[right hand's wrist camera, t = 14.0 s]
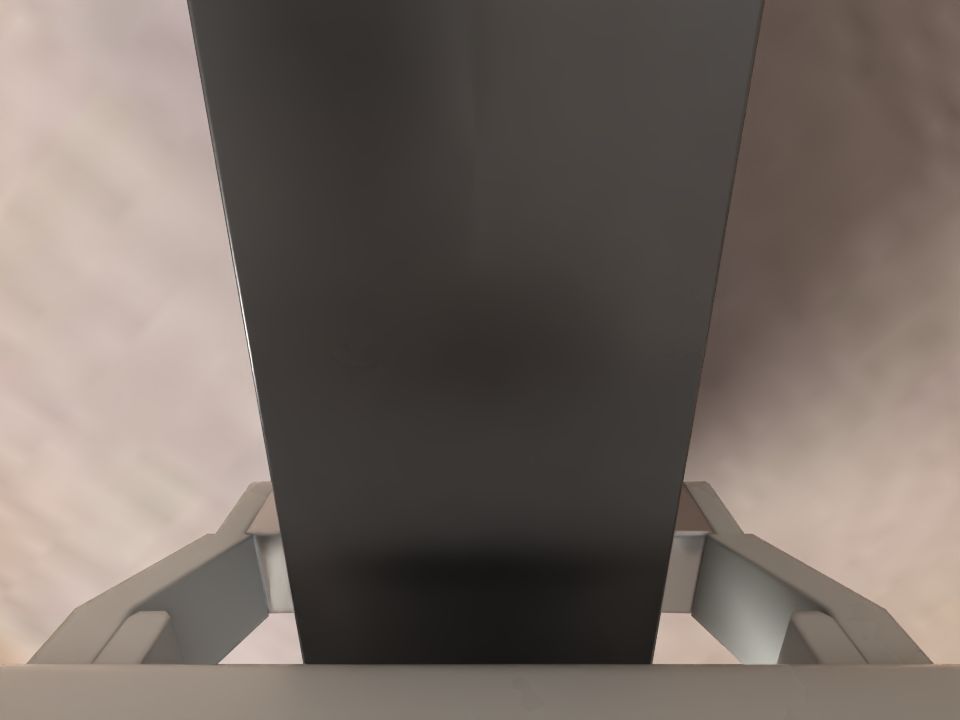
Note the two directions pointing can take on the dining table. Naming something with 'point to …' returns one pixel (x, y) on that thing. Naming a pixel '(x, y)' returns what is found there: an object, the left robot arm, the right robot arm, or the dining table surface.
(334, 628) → the bar
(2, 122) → the dining table surface
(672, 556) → the right robot arm
